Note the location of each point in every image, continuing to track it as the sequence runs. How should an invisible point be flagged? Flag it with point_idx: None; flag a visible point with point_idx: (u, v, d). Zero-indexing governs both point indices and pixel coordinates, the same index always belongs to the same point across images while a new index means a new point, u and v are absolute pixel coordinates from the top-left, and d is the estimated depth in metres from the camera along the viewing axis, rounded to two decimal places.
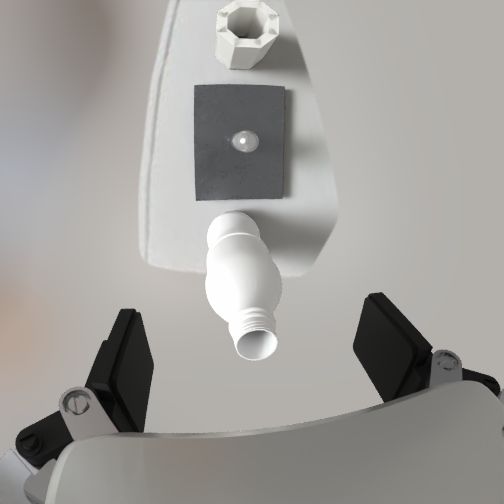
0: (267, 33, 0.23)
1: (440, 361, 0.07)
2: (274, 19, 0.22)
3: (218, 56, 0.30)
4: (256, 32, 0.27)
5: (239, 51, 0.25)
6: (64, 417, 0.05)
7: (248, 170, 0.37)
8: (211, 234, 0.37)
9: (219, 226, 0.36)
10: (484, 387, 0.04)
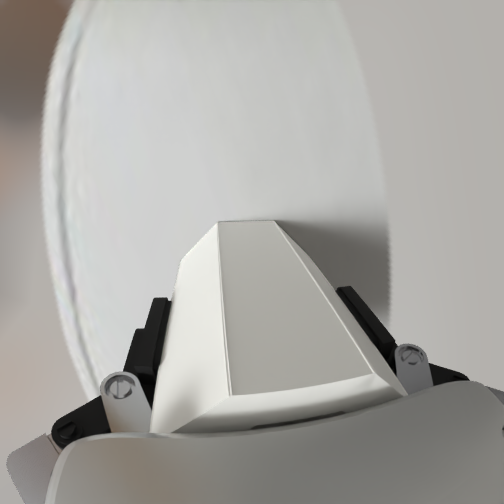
0: None
1: (403, 356, 0.07)
2: None
3: None
4: None
5: None
6: (108, 402, 0.06)
7: None
8: None
9: None
10: (484, 387, 0.04)
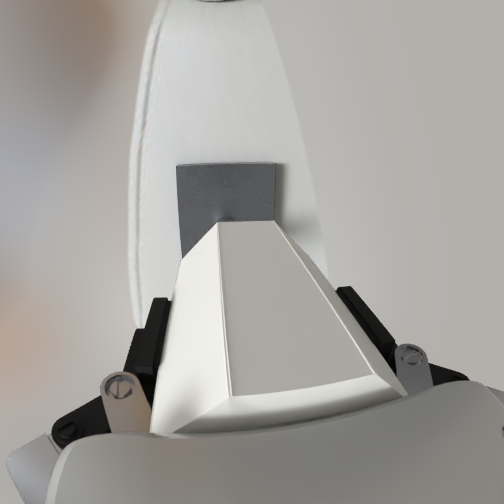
0: None
1: (403, 356, 0.07)
2: None
3: None
4: None
5: None
6: (108, 402, 0.06)
7: None
8: None
9: None
10: (484, 387, 0.04)
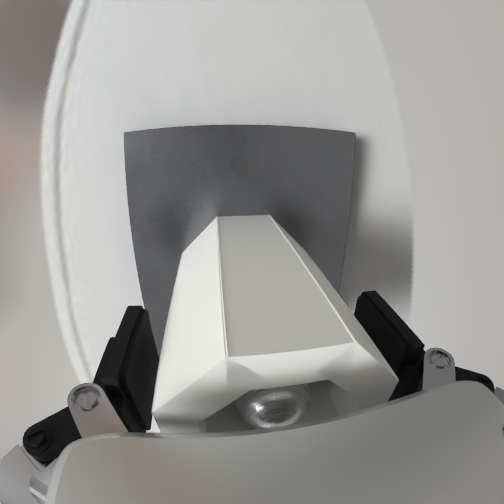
0: None
1: (432, 360, 0.07)
2: (378, 399, 0.07)
3: None
4: None
5: None
6: (73, 413, 0.05)
7: None
8: None
9: None
10: (484, 387, 0.04)
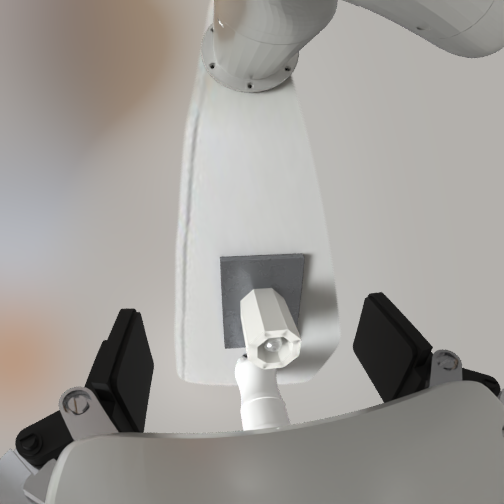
0: (290, 356, 0.34)
1: (440, 361, 0.07)
2: (297, 344, 0.34)
3: None
4: None
5: None
6: (64, 417, 0.05)
7: None
8: (239, 375, 0.44)
9: (246, 372, 0.43)
10: (484, 387, 0.04)
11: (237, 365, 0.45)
